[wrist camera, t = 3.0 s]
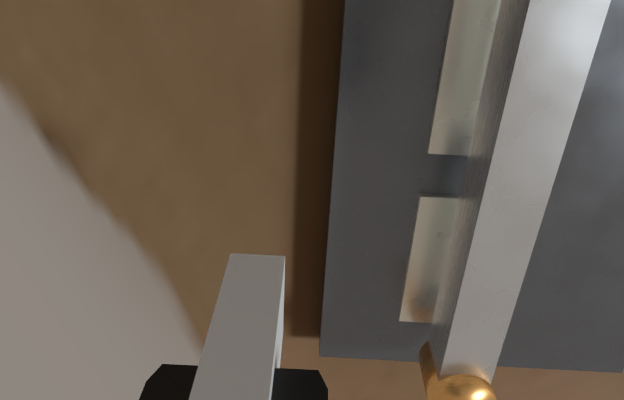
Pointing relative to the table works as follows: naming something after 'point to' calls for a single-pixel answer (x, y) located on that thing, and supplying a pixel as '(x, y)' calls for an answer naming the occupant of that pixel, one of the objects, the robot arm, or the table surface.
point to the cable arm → (507, 185)
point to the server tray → (447, 184)
